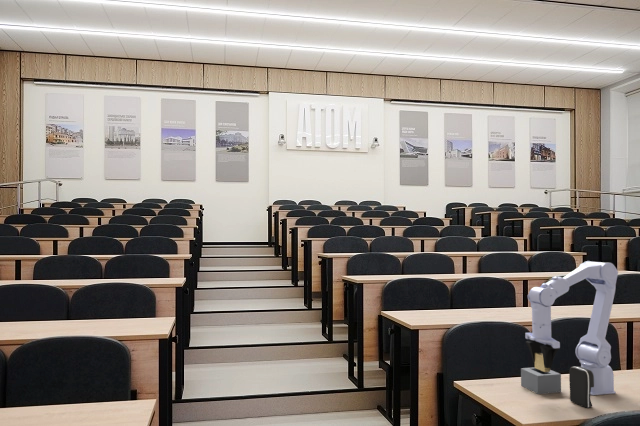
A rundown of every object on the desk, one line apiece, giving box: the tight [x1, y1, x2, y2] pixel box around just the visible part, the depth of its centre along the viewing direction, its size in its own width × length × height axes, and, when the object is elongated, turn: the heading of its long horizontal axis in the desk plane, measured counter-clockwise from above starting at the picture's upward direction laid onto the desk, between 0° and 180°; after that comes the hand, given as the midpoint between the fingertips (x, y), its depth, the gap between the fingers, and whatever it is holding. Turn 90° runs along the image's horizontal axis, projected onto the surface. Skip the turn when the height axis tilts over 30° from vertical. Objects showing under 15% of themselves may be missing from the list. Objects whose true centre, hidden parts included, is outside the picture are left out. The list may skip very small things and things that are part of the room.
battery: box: [568, 366, 594, 408], centre depth 153 cm, size 7×4×11 cm, turn 17°
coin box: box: [520, 366, 562, 395], centre depth 168 cm, size 9×9×6 cm
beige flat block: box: [534, 352, 551, 372], centre depth 160 cm, size 2×5×5 cm, turn 13°
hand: (542, 365), depth 160 cm, fingers closed on beige flat block, 5 cm apart
